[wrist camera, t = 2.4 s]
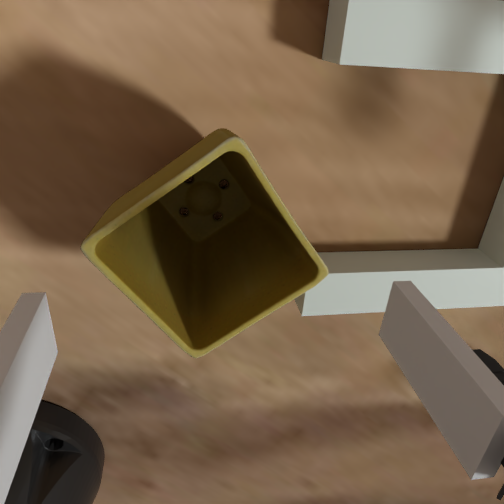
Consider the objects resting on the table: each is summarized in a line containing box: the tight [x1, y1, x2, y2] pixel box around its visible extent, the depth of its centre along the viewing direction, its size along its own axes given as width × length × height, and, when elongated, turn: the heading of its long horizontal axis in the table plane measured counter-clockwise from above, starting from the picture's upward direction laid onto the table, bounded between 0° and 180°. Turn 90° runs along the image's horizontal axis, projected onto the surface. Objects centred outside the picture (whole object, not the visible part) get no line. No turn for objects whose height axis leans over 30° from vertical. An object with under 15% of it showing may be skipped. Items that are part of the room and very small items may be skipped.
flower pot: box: [80, 128, 329, 358], centre depth 24 cm, size 9×9×9 cm
